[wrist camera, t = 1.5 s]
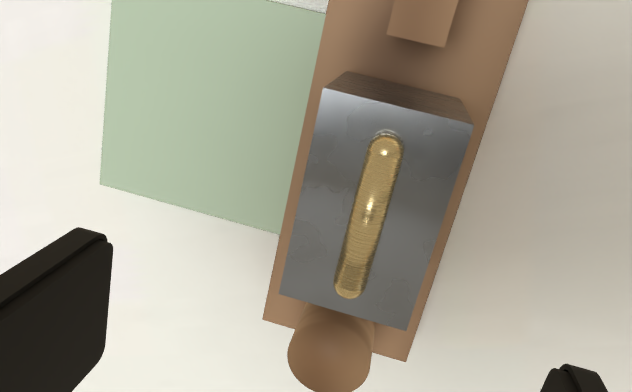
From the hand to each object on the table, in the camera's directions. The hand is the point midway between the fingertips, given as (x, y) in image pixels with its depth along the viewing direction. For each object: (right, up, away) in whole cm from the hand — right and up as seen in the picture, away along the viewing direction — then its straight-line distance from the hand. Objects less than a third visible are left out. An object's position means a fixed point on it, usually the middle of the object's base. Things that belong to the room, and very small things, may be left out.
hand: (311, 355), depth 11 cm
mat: (-5, +8, +17) cm, 20 cm away
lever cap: (+3, +4, +13) cm, 14 cm away
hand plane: (+4, +6, +16) cm, 18 cm away
